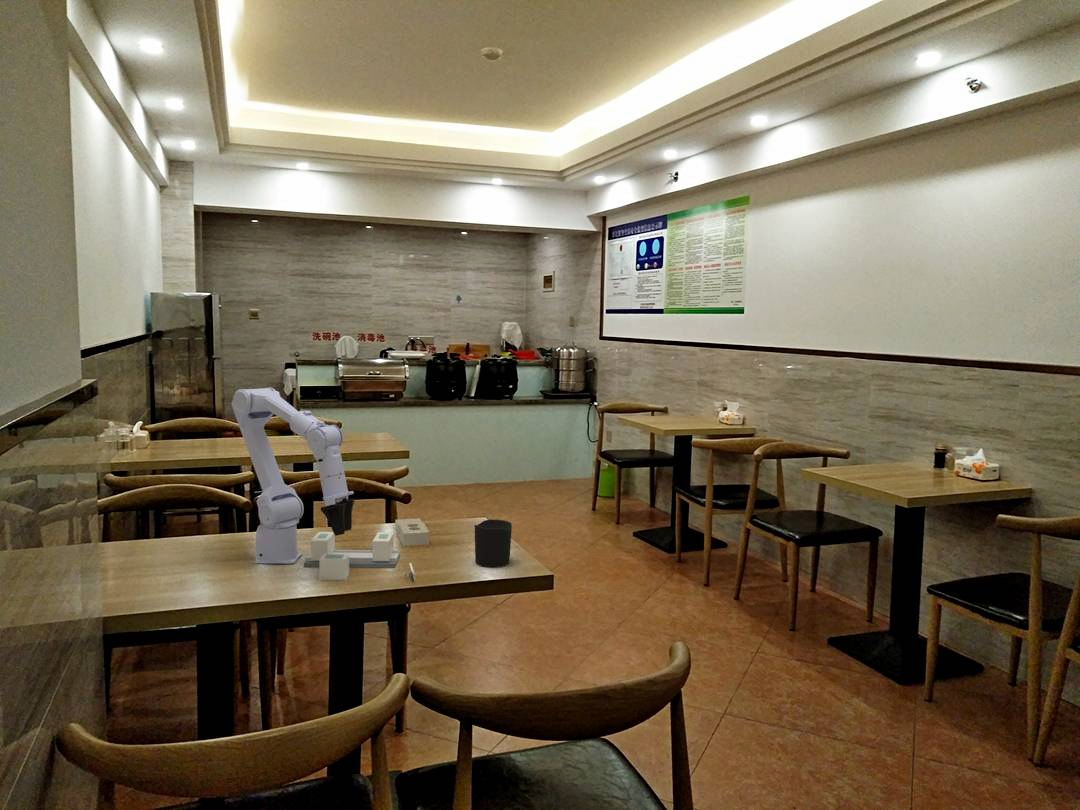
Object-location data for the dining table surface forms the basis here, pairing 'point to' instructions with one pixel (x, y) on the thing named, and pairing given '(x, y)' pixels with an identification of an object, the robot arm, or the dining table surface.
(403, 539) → the electrical outlet
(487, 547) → the pen holder
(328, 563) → the block
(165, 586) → the dining table surface
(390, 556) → the grey stepped base
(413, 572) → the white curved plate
